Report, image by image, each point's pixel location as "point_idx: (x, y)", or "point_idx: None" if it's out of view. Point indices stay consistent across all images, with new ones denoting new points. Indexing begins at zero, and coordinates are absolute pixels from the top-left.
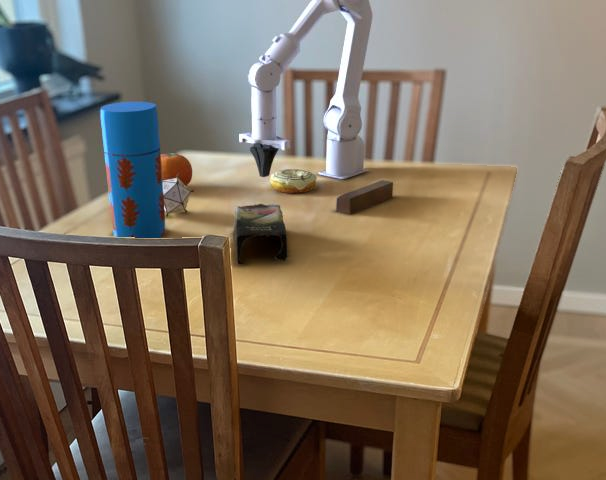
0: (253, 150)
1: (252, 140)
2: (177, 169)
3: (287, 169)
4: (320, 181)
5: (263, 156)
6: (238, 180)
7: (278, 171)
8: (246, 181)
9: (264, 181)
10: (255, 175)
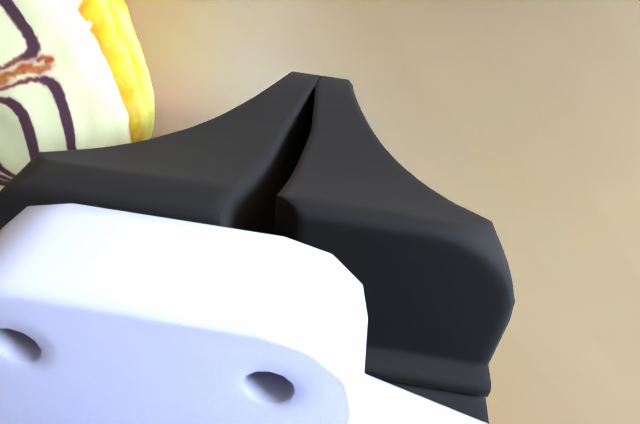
0: (371, 208)
1: (160, 299)
2: None
3: None
4: None
5: (140, 147)
6: (636, 21)
7: (15, 80)
8: (523, 31)
9: None
10: (530, 234)
